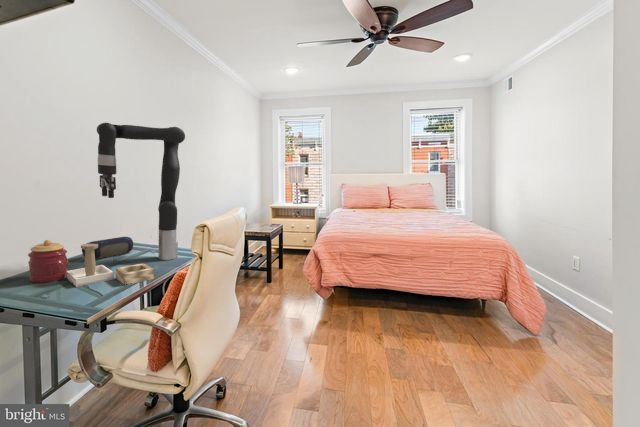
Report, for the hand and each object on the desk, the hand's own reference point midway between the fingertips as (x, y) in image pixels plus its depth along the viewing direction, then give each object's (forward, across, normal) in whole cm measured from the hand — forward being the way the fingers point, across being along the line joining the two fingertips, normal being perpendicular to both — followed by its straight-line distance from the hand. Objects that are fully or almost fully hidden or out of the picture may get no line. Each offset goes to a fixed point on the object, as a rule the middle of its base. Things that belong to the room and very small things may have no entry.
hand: (107, 197), depth 151 cm
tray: (+36, -14, +12) cm, 41 cm away
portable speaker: (+36, +19, -6) cm, 41 cm away
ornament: (+36, +11, +18) cm, 42 cm away
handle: (+35, -14, +12) cm, 40 cm away
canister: (+36, -2, +24) cm, 44 cm away
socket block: (+36, -26, -2) cm, 45 cm away
